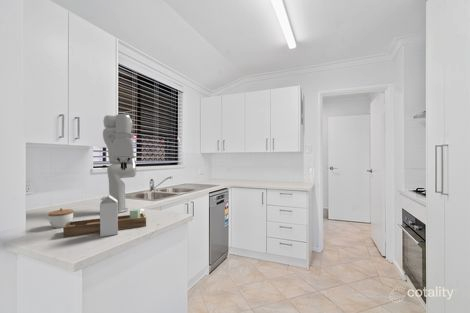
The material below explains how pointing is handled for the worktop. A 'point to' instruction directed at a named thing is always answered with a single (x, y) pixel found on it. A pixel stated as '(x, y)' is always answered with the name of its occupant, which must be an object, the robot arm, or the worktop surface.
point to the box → (94, 225)
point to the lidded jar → (60, 217)
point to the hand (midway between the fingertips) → (123, 169)
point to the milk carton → (108, 216)
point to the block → (134, 213)
